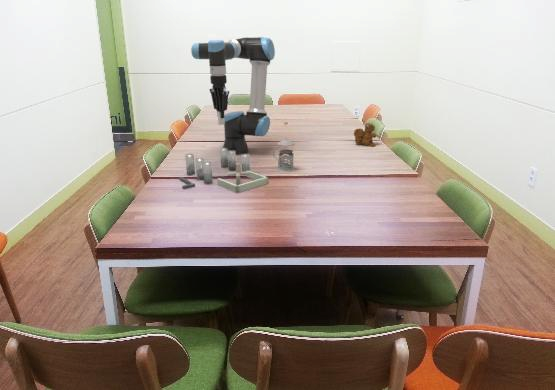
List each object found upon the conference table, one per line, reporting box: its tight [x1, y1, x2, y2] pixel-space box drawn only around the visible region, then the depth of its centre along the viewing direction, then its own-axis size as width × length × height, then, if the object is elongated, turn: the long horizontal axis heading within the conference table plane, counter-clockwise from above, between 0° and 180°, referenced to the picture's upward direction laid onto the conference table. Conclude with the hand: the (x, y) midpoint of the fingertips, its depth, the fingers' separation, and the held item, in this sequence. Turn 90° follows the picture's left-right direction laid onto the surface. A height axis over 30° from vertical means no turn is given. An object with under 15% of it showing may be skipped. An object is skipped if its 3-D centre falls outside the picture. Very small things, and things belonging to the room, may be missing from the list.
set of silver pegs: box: [184, 147, 251, 185], centre depth 226 cm, size 26×23×10 cm
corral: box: [216, 170, 269, 194], centre depth 212 cm, size 19×15×3 cm
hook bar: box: [178, 176, 196, 190], centre depth 213 cm, size 14×6×1 cm, turn 37°
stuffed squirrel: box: [353, 122, 377, 147], centre depth 278 cm, size 10×14×13 cm
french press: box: [272, 121, 296, 173], centre depth 229 cm, size 10×12×25 cm
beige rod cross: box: [226, 162, 249, 185], centre depth 211 cm, size 10×10×10 cm
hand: (221, 124), depth 220 cm, fingers closed
